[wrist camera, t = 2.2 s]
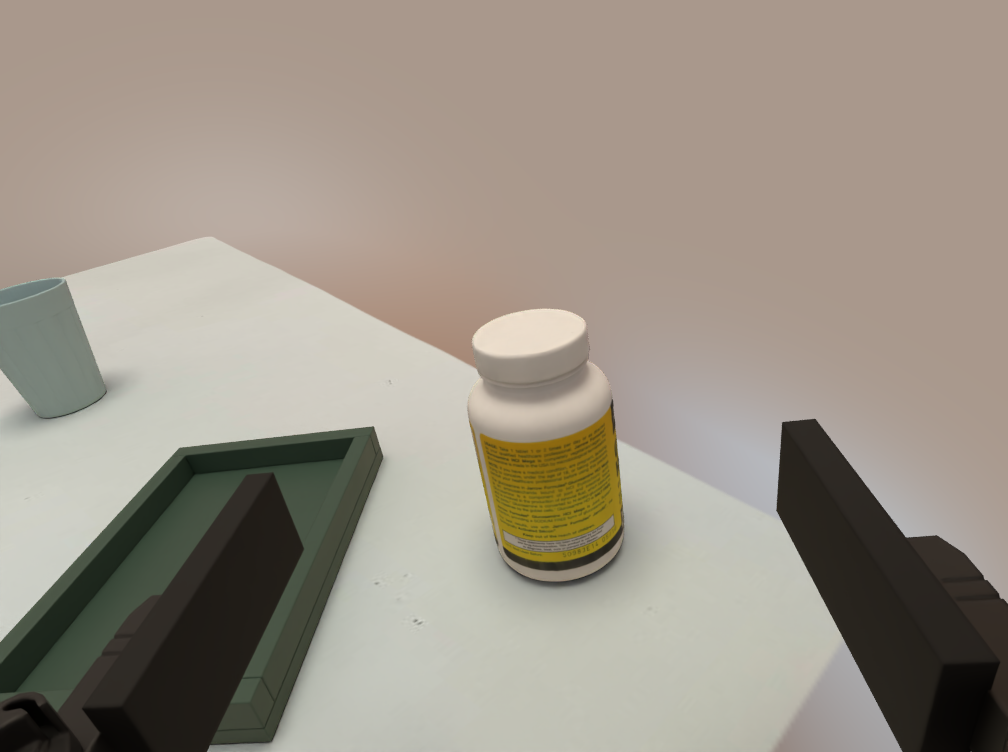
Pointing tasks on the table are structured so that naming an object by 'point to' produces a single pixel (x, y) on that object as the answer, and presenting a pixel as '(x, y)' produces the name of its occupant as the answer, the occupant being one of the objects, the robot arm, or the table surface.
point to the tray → (168, 543)
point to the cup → (47, 348)
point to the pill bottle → (546, 445)
